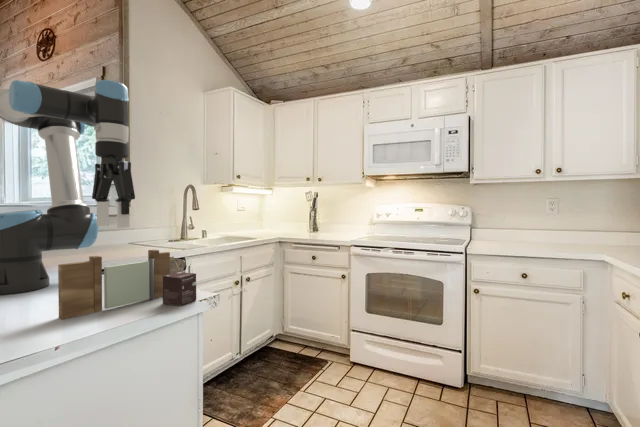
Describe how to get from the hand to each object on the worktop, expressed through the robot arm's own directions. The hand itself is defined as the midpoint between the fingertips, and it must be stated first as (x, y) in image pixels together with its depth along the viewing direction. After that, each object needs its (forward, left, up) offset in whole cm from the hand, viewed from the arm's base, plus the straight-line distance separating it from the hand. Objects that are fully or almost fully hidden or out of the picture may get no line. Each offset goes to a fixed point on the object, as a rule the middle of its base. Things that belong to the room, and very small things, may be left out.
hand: (112, 226), depth 91 cm
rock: (-10, +22, -20) cm, 31 cm away
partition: (+6, -1, -20) cm, 21 cm away
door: (+8, +1, -20) cm, 21 cm away
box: (+16, +9, -20) cm, 27 cm away
